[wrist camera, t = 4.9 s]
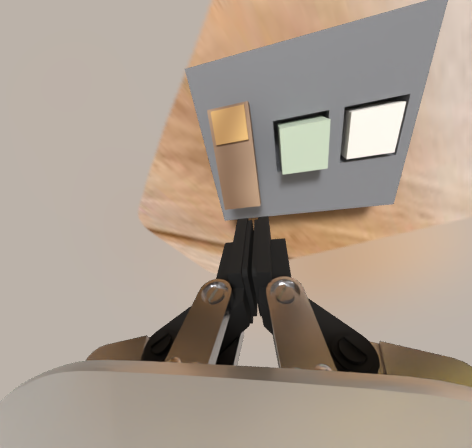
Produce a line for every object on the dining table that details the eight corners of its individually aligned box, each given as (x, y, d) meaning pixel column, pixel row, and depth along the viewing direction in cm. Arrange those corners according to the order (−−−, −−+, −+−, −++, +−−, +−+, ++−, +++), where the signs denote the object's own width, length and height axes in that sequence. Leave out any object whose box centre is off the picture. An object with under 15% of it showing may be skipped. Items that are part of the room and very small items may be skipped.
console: (408, 16, 15) (463, -14, 11) (374, 187, 22) (399, 209, 18) (199, 73, 18) (180, 67, 14) (230, 204, 26) (223, 225, 22)
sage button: (320, 115, 17) (330, 119, 14) (318, 157, 18) (327, 168, 16) (277, 123, 17) (279, 129, 15) (280, 163, 19) (282, 174, 17)
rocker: (249, 104, 15) (247, 100, 14) (261, 202, 18) (260, 206, 17) (211, 113, 16) (206, 109, 15) (227, 206, 19) (224, 210, 17)
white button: (384, 100, 17) (406, 101, 14) (376, 144, 19) (394, 152, 16) (338, 109, 17) (351, 112, 15) (335, 150, 19) (346, 159, 17)
